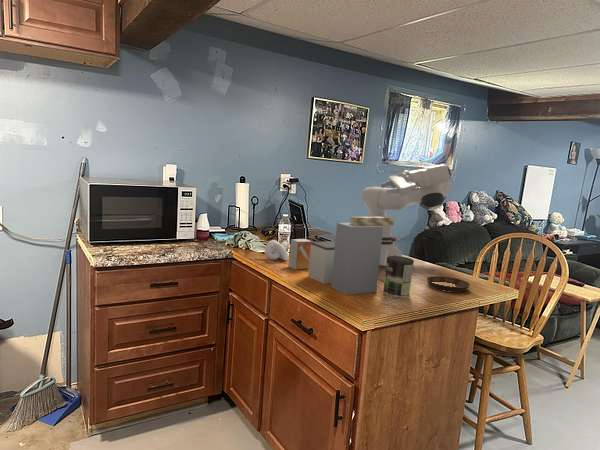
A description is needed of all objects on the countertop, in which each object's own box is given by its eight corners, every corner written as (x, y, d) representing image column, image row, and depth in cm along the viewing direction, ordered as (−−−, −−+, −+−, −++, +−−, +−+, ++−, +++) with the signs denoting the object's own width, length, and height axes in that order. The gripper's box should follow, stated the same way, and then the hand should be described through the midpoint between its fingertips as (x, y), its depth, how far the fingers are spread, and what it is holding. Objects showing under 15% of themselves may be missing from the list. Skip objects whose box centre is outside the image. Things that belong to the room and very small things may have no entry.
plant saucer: (417, 282, 187) (418, 276, 187) (449, 281, 194) (450, 275, 193) (444, 295, 171) (445, 287, 170) (478, 293, 177) (479, 286, 177)
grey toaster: (342, 273, 192) (345, 240, 190) (358, 280, 182) (361, 246, 179) (308, 275, 183) (311, 241, 181) (323, 283, 173) (326, 247, 170)
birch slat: (387, 223, 174) (388, 216, 173) (393, 225, 171) (394, 217, 170) (350, 224, 164) (350, 216, 164) (355, 225, 161) (356, 217, 161)
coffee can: (387, 297, 161) (391, 261, 159) (380, 289, 171) (383, 255, 169) (413, 298, 162) (417, 262, 160) (404, 290, 172) (408, 256, 170)
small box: (295, 269, 192) (297, 241, 190) (288, 266, 197) (290, 239, 195) (310, 268, 196) (312, 241, 194) (302, 265, 201) (304, 238, 200)
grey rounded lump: (272, 255, 219) (274, 238, 217) (293, 258, 214) (295, 241, 212) (261, 258, 208) (263, 241, 207) (283, 262, 203) (284, 244, 202)
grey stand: (360, 284, 176) (367, 222, 172) (376, 291, 168) (383, 226, 164) (331, 287, 169) (336, 222, 165) (345, 294, 160) (352, 227, 156)
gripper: (423, 194, 177) (391, 202, 178) (408, 181, 196) (379, 189, 197) (421, 180, 175) (389, 189, 175) (406, 168, 194) (376, 176, 194)
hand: (383, 188), depth 186 cm, fingers open, 8 cm apart
